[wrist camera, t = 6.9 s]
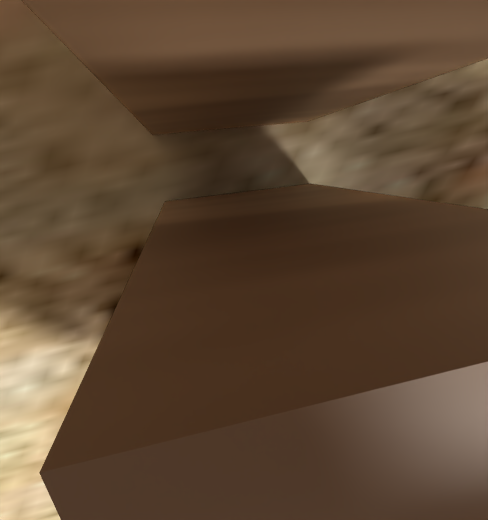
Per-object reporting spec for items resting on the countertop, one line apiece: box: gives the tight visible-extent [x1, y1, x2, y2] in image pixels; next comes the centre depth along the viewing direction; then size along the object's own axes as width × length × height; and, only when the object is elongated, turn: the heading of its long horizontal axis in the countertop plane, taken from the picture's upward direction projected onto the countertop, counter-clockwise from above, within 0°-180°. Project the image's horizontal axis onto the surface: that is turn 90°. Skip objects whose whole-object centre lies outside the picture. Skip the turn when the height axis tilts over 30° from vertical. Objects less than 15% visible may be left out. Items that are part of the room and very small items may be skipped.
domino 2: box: [40, 184, 488, 520], centre depth 6 cm, size 2×5×9 cm, turn 96°
